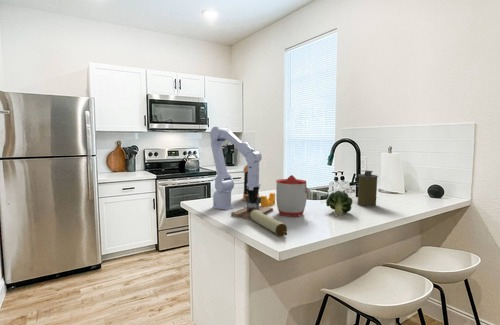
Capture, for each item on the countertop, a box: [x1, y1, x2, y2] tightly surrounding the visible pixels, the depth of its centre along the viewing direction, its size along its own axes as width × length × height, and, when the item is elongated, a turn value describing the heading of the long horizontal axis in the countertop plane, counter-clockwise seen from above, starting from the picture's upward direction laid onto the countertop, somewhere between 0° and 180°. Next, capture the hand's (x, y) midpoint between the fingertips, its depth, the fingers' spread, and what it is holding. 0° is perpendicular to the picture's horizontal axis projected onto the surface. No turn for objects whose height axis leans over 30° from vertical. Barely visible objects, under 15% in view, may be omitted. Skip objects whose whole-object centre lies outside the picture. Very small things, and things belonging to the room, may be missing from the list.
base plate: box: [231, 205, 274, 220], centre depth 149 cm, size 13×20×2 cm, turn 150°
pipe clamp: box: [260, 192, 276, 207], centre depth 166 cm, size 12×4×6 cm, turn 147°
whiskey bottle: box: [242, 147, 260, 202], centre depth 180 cm, size 10×10×32 cm
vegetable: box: [325, 190, 353, 217], centre depth 150 cm, size 12×13×15 cm
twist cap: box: [245, 195, 261, 211], centre depth 148 cm, size 6×8×7 cm
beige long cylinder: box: [249, 209, 288, 237], centre depth 126 cm, size 32×6×5 cm, turn 25°
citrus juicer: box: [275, 174, 312, 217], centre depth 147 cm, size 16×17×20 cm
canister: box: [356, 170, 379, 208], centre depth 169 cm, size 11×10×20 cm
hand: (253, 201), depth 148 cm, fingers open, 4 cm apart
